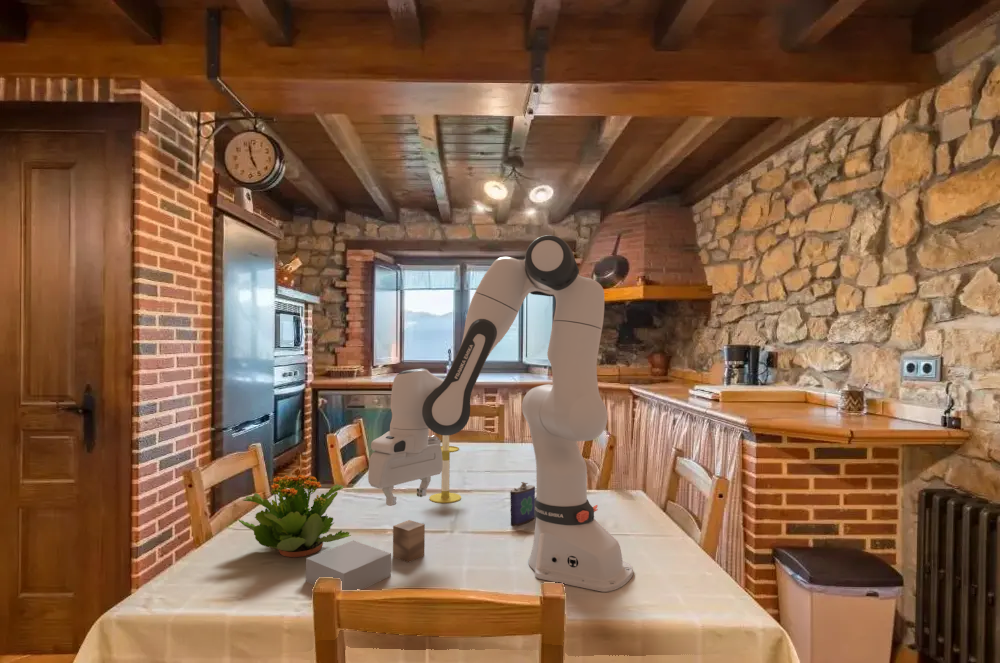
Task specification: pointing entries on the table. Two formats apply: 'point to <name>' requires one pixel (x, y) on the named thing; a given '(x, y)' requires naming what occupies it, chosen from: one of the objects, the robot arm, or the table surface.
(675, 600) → the table surface
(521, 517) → the flask
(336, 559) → the plate
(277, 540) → the potted flower
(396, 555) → the walnut block
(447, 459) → the wheel axle
